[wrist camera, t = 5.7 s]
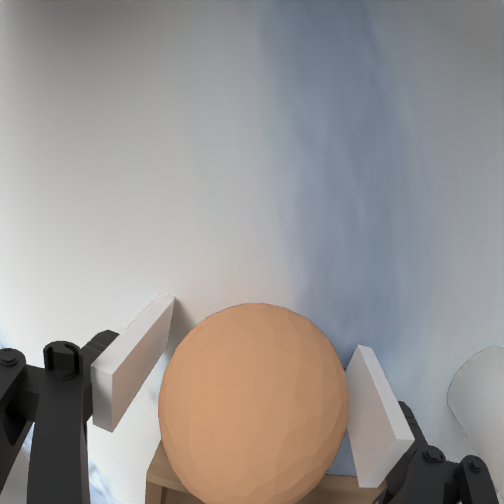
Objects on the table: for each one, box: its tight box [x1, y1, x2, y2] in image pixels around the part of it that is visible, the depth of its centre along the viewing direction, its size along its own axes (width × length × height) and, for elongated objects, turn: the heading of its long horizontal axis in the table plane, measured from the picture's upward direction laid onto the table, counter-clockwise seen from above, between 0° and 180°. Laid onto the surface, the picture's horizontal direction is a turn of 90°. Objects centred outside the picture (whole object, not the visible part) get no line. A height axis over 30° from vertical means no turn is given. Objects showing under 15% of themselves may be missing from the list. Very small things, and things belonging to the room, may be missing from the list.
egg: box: [158, 303, 349, 504], centre depth 11 cm, size 7×7×9 cm
